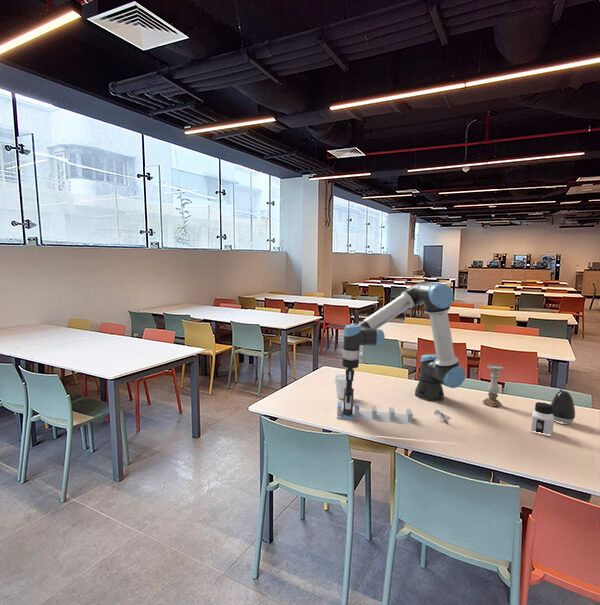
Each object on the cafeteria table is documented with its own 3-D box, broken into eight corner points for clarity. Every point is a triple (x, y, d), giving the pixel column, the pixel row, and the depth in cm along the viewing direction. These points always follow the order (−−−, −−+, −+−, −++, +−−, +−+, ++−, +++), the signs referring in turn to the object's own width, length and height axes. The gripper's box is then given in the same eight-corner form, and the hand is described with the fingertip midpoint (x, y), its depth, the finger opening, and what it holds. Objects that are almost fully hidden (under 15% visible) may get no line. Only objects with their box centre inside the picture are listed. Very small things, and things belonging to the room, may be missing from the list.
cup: (353, 401, 197) (354, 380, 196) (334, 400, 198) (334, 379, 196) (351, 394, 207) (352, 374, 206) (332, 393, 207) (333, 374, 206)
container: (551, 437, 163) (555, 408, 162) (530, 432, 167) (534, 404, 166) (551, 431, 170) (554, 403, 168) (531, 426, 174) (534, 399, 172)
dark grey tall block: (352, 412, 181) (353, 387, 180) (352, 415, 177) (353, 390, 176) (343, 411, 182) (344, 387, 180) (342, 415, 177) (344, 390, 176)
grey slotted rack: (409, 415, 181) (410, 405, 181) (413, 425, 170) (413, 414, 170) (337, 409, 185) (338, 399, 185) (336, 418, 175) (337, 408, 174)
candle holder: (497, 408, 194) (501, 370, 192) (479, 403, 201) (483, 366, 198) (504, 404, 200) (507, 367, 198) (487, 399, 206) (490, 363, 204)
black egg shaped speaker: (569, 419, 183) (573, 389, 182) (577, 428, 174) (581, 396, 172) (545, 416, 187) (548, 386, 185) (551, 424, 177) (555, 392, 175)
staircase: (433, 421, 176) (434, 410, 176) (440, 420, 178) (441, 409, 177) (444, 427, 170) (445, 415, 170) (450, 426, 172) (451, 414, 171)
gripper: (343, 353, 185) (340, 399, 188) (342, 362, 168) (339, 413, 171) (358, 354, 185) (355, 400, 187) (359, 363, 167) (356, 414, 170)
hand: (347, 406), depth 179 cm, fingers closed on dark grey tall block, 4 cm apart
